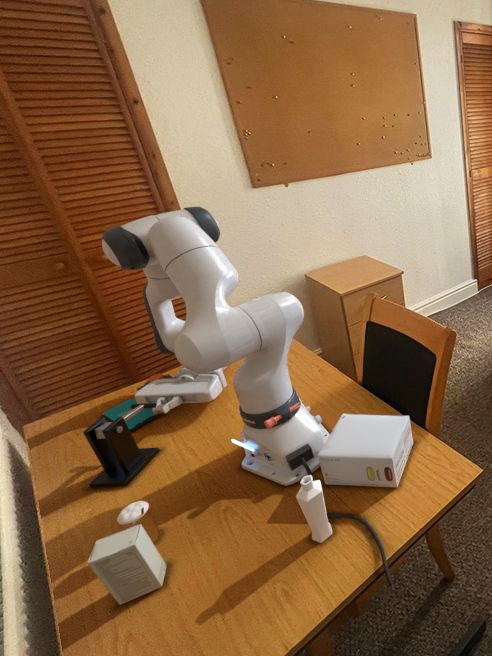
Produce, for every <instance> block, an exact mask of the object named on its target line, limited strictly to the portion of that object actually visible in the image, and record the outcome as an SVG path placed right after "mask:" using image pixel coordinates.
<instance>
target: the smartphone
mask: <svg viewBox="0 0 492 656" xmlns="http://www.w3.org/2000/svg"><path fill="white" fill-rule="evenodd" d="M132 404H137V402H136V400H135V398H133V397H132V398H129V399H126V400H125V401H123V402H122V403H120V404H117V405H115V406H113V407H112V408H109V409H108V410H106V411H104V412H103V413H102V416H103V418H105V419H106V420H109V421H110V422H113V421H114V420H115V419H117V418H118V417H122V416H124V415H125V414H127V413H128V412H130V411H132V410H133V409H131V408H130V406H131V405H132ZM152 409H153V408H145V409H143V410H142V411H140V412H139V413H137V414H136V415H134V416H133V417H131V418H130V419H128V420H127V421H125V422H126V424H127V426H128V428H129V430H130V432H133V431H135V430H137V429H139V428H140V427H141V426H144V425H145V424H147V423H150V422H151V421H152V420H154V419H156V418H158V417H159V416H160V415H161V413H158V414H154V413H153V411H152Z"/></svg>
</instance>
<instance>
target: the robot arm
mask: <svg viewBox="0 0 492 656" xmlns="http://www.w3.org/2000/svg"><path fill="white" fill-rule="evenodd" d="M220 237H221V230H220V226H219V223H218V221H217V219H216V218H215V216H213V215H212V213H210V211H208V210H207V209H205V208H204V207H202V206H187V207H184V208H183V209H178V210H171V211H167V212H161V213H158V214H154V215H153V214H151V215H147V216H143V217H140V218H137V219H134V220H132V221H130V222H126V223H125V224H122V225H120V224H117V225H115V226H112V227H110V228H109V229H107V230H105V231H104V232H103V233H102V235H101V237H100V240H101V247H102V251H103V253H104V255H105V256H106V258H107V259H108V260H109V261H110V262H111V263H113V264H114V265H116V266H118V267H119V268H120V269H122V270H125V271H137V270H142V271H143V273H144V275H145V277H146V279H147V282H146V283H145V284H144V286H143V288H142V298H143V302H144V305H145V309H146V312H147V315H148V318H149V321H150V324H151V327H152V331H153V342H154V345H155V348H157V350H159V352H161V353H162V354H165V355H175V357H176V359H177V361H178V362H179V364H180V365H181V366H182V367H181V368H180V369H179V370H178V371H177V372H176V373H175V374H174V377H173V378H169V379H157V380H154V381H152V382H151V383H149V384H147V385H146V386H144V385H143V386H144V387H143V388H142V389H140V390H139V391H138V390H137V391H136V392H135V393H134V399H135V400H136V402H137V404H144V403H156V404H157V406H156V407H155V408H152V411H153V413H154V414H158V413H160V414H167V413H169V412H170V410H172V409H174V408H176V407H178V406H180V405H182V404H200V403H201V404H202V403H210V402H212V401H214V400H215V399H216V398H218V397H219V395H220V394H222V391H223V389H225V388H226V387H227V385H228V383H227V380H226V377H225V374H224V371H225V370H226V369H227V368H228V367H229V366H230V365H233V364H235V363H236V362H238V361H241V360H242V359H244V360H243V361H242V362H241V364H240V365H239V366H238V367H237V369H236V371H235V372H234V375H233V378H232V387H233V389H234V392H235V396H236V398H237V401H238V404H239V409H238V410H239V415H240V418H241V420H242V422H243V424H244V425H243V428H242V431H241V434H240V438H241V441H238V440H237V439H234V438H232V439H231V442H232V443H233V444H235V445H237V446H240V447H242V448H243V450H244V455H245V457H244V458H243V459H242V461H241V469H243V470H245V471H248V472H250V473H253V474H255V475H258V476H260V477H262V478H265V479H266V480H267V479H268V480H270V481H272V482H274V483H277V484H279V485H283V486H285V487H287V486H290V485H293V484H296V483H298V482H301V480H302V479H303V477H304V476H309V475H312V478H313V481H316V480H315V477H314V475H313V473H314V472H315V471H317V470H318V469H319V468H321V466H320V462H319V458H318V454H319V452H320V450H321V449H322V447H323V446H324V444H325V442H326V441H327V439H328V437H329V436H330V434H331V433H330V432H328V431H327V429H326V428H325V427H324V426H323V425H322V424H323V419H322V416H321V415H320V414H316V415H312V414H311V413H310V411H312V410H311V409H312V408H311V407H310V405H306V406H305V405H304V404H303V401H302V400H301V398H300V397H299V394H298V392H297V391H296V389H295V387H294V386H293V385H292V382H291V377H290V372H289V367H288V359H289V352H290V348H291V344H292V342H293V339H294V337H295V335H296V332H297V331H298V330H299V329H300V327H301V326H302V325H303V322H304V319H305V310H304V307H303V305H302V302H301V301H300V300H299V298H297V297H296V296H295V295H293V294H291V293H289V292H288V291H279V292H273V293H269V294H268V293H267V294H263V295H261V296H259V297H256V298H253V299H250V300H248V301H246V302H243V303H241V304H238V305H235V306H233V307H231V306H230V305H229V304H228V303H227V301H226V300H227V299H228V298H229V297H230V296H231V295H232V294H233V293H234V291H235V290H236V289H237V287H238V286H239V283H240V276H239V272H238V270H237V269H236V268H235V267H234V266H233V264H232V263H231V261H230V260H229V259H228V257H227V256H226V255H225V253H224V252H223V251H222V249H221V248H220V247H219V246H218V244H216V243H217V242H218V241H219V240H220ZM178 299H182V300H183V302H184V304H185V309H186V316H185V320H184V319H181V318H178V317H177V316H176V313H175V309H174V305H173V303H172V301H173V300H178ZM326 513H327V518H350V519H353V520H355V521H357V522H359V523H360V524H361V525H362V526H364V527H365V528H366V529H367V530H368V532H369V533H370V535H371V537H372V538H373V539H374V541H375V543H376V545H377V547H378V549H379V552H380V557H381V563H382V567H383V572H384V574H385V578H386V581H387V585H388V587H393V586H394V582H393V580H392V576H391V572H390V570H389V566H388V560H387V556H386V552H385V549H384V546H383V544H382V543H383V542H381V540H380V537H379V536H378V534H377V532H376V530H375V529H374V528H373V526H372V525H371V524H370V523H369V522H367V520H365V519H364V518H362V517H361V516H359V515H357V514H354V513H351V512H350V513H349V512H335V513H334V512H332V513H331V512H326Z"/></svg>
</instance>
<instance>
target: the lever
mask: <svg viewBox="0 0 492 656" xmlns="http://www.w3.org/2000/svg"><path fill="white" fill-rule="evenodd" d="M156 406H157V404H156V403H144V404H132V405H131V406H130V408H131V409H133V410H132V411H130V412H128V413H127V414H125V415H124V416H122V417H123V418H124V420H125V421H127V420H128V419H130V418H131V417H133V416H134V415H136V414H137V413H139V412H140V411H142V410H143V409H145V408H152V409H153V408H155V407H156ZM112 422H113V421H107V422H106V423H104V424H103V425H101V426H99V427H98V428H96V429H95V433H96V437H97V439H105V436H104V434H103V433H102V431H103V430H104V429H105V428H106V427H107V426H108V425H110V424H111V423H112Z"/></svg>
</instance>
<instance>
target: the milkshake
mask: <svg viewBox="0 0 492 656" xmlns="http://www.w3.org/2000/svg"><path fill="white" fill-rule="evenodd" d="M116 522H117V523H118V525H119V526H121V528H122V530H125V529H128V528H131V527H133V526H136V525H139V524H141V525H142V527H143V528H144V530H145V531H146V533H147V535H148V536H149V538H150V539H151V541H152V542H153V544H154V543H156V541H157V540H158V538H159V536H160V535H159V530H158V528H157V524H156V521H155V520H154V517H153V514H152V510H151V507H150V504H149V502H148V501H145V500H137V501H134V502H131V503H130V504H128V505H126V506H125V507H124V508H123V509H122V510H120V513H119V514H118V516H117V518H116Z"/></svg>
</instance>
